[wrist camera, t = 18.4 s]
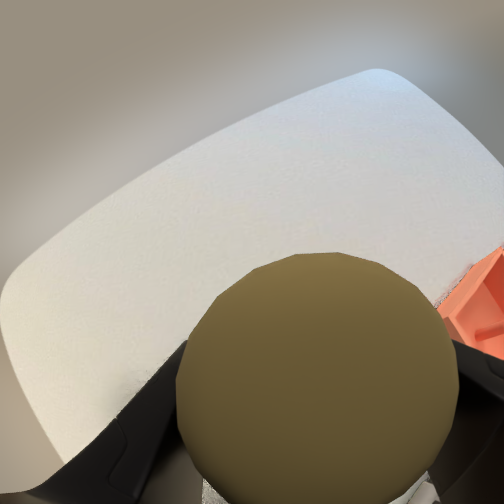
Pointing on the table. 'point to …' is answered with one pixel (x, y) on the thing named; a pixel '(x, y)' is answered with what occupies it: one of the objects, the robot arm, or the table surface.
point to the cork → (317, 384)
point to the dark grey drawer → (425, 494)
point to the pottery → (478, 306)
